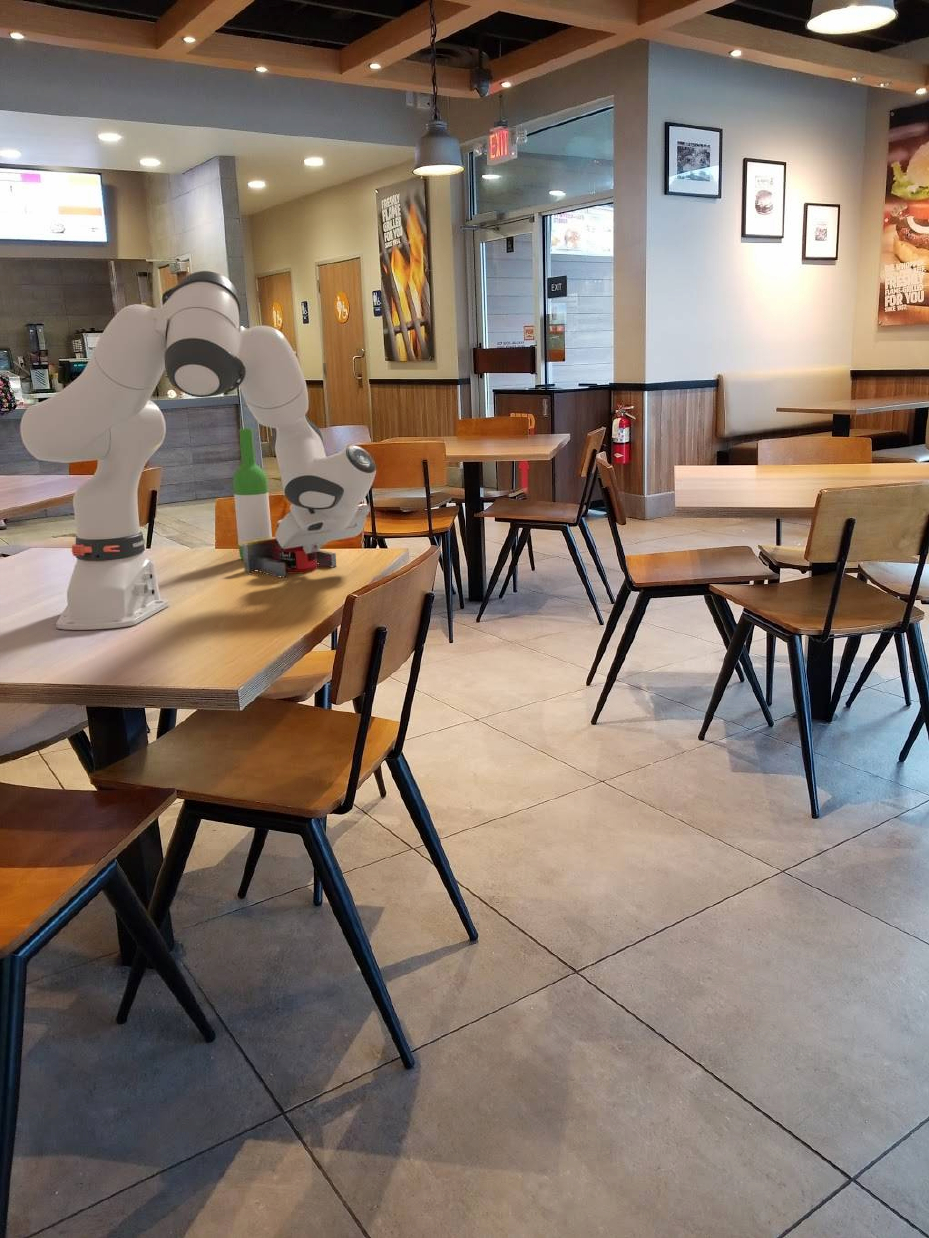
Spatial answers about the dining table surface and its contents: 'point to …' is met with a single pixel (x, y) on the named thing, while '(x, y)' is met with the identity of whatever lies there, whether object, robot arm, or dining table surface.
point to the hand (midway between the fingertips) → (309, 550)
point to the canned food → (297, 558)
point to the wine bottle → (250, 495)
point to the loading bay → (274, 557)
